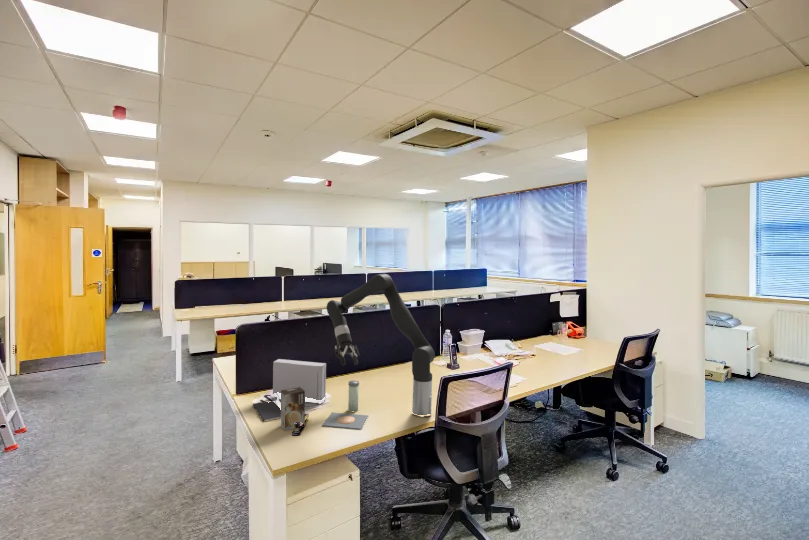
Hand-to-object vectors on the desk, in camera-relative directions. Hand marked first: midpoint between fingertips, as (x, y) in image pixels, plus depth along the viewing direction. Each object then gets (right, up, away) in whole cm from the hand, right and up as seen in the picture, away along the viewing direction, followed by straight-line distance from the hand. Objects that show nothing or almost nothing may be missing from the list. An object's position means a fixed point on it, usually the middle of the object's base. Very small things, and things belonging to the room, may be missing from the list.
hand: (350, 364), depth 193 cm
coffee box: (-23, -22, -22) cm, 39 cm away
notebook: (-37, -21, -7) cm, 44 cm away
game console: (-28, -21, +8) cm, 36 cm away
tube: (+2, -22, -3) cm, 22 cm away
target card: (0, -22, -16) cm, 27 cm away
